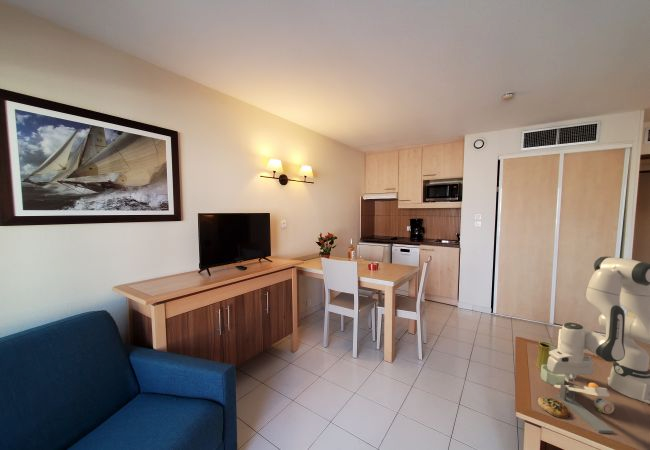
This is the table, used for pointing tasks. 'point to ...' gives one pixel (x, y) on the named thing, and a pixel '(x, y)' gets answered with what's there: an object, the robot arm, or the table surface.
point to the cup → (551, 376)
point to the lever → (588, 390)
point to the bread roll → (553, 407)
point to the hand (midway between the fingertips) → (569, 381)
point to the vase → (542, 355)
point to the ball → (593, 385)
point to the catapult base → (581, 410)
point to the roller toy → (604, 405)
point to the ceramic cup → (551, 345)
